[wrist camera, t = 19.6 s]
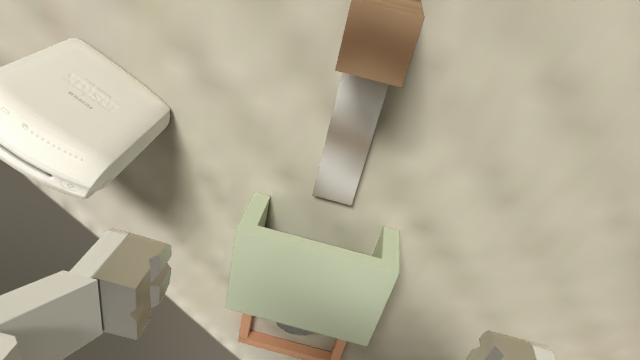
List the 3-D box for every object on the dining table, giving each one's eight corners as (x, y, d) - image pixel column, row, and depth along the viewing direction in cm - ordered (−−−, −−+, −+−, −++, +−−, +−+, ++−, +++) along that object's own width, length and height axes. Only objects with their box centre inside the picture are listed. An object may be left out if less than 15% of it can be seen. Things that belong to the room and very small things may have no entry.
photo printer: (181, 109, 38) (97, 185, 27) (158, 141, 40) (73, 223, 29) (74, 26, 35) (-63, 76, 25) (56, 65, 37) (-77, 126, 27)
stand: (399, 230, 41) (399, 273, 36) (370, 301, 46) (367, 346, 41) (254, 192, 41) (235, 229, 36) (243, 266, 46) (225, 308, 42)
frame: (357, 308, 47) (356, 316, 46) (337, 359, 52) (336, 368, 51) (250, 278, 47) (247, 287, 46) (241, 333, 52) (237, 341, 51)
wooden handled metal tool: (362, -22, 30) (351, -1, 23) (419, -7, 30) (424, 17, 23) (312, 188, 40) (294, 245, 33) (354, 199, 40) (345, 259, 33)
